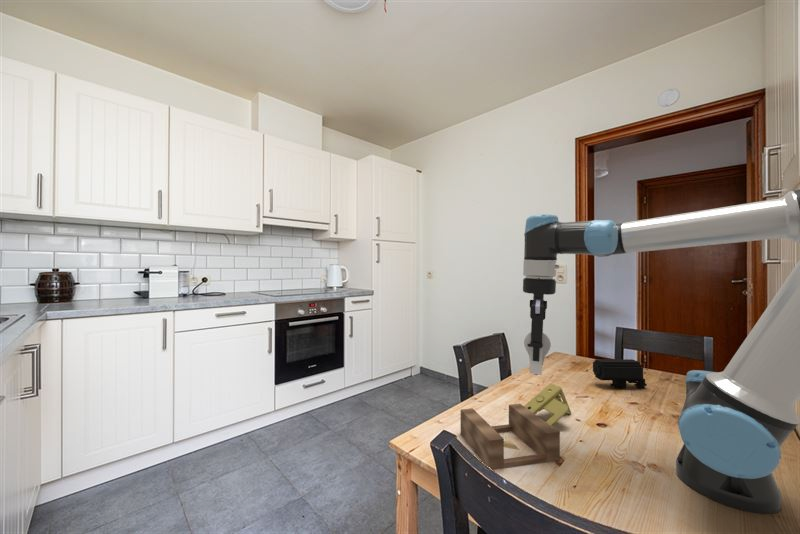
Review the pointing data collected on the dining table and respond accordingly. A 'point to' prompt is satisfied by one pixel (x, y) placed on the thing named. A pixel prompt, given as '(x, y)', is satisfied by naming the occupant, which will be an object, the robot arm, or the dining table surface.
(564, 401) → the bracket
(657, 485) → the dining table surface
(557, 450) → the brown open rectangular frame
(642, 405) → the dining table surface
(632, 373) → the security camera
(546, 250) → the robot arm
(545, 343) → the lightbulb
